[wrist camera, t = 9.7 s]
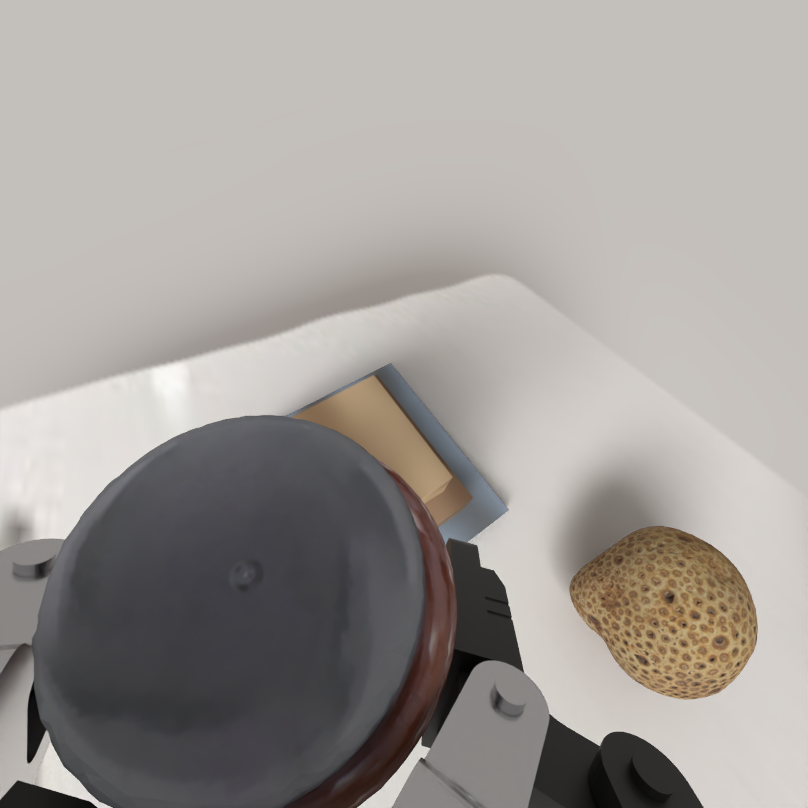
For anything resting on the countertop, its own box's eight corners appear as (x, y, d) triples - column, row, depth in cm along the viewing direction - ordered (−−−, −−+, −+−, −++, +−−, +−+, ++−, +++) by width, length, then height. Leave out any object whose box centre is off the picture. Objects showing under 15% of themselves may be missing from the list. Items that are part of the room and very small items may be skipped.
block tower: (389, 369, 38) (397, 318, 32) (504, 513, 32) (540, 484, 26) (195, 469, 31) (157, 428, 25) (297, 673, 25) (281, 684, 19)
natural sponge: (703, 661, 28) (856, 670, 20) (598, 712, 26) (719, 748, 18) (630, 533, 32) (731, 495, 24) (534, 568, 30) (607, 540, 22)
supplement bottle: (378, 511, 16) (417, 313, 6) (432, 682, 13) (642, 792, 4) (219, 562, 15) (-50, 403, 5) (244, 766, 12) (-233, 1322, 2)
